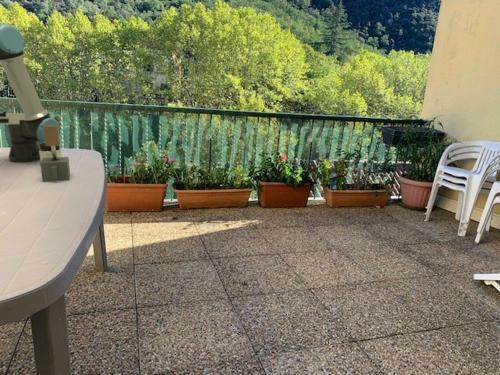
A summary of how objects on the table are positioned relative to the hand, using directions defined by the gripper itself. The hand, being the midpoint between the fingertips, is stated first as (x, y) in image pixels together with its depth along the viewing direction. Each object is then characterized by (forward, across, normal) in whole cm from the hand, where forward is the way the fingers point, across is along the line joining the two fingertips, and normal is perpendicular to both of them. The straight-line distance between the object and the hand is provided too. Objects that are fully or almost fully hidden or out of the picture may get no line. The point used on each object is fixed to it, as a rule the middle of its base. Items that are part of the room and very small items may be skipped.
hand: (21, 118), depth 155 cm
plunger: (+10, -1, -18) cm, 20 cm away
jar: (+7, -17, -26) cm, 31 cm away
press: (+10, +1, -26) cm, 28 cm away
